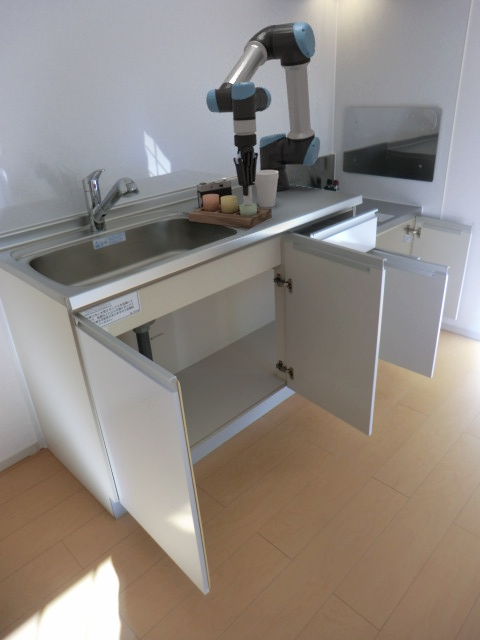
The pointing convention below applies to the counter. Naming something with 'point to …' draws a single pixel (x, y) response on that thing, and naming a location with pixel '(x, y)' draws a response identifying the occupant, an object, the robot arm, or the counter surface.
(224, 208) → the yellow short cylinder
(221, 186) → the camera
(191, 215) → the walnut board
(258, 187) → the foam cup
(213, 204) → the pink short cylinder
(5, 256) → the counter surface
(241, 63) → the robot arm
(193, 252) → the counter surface
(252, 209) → the pale green cylinder
